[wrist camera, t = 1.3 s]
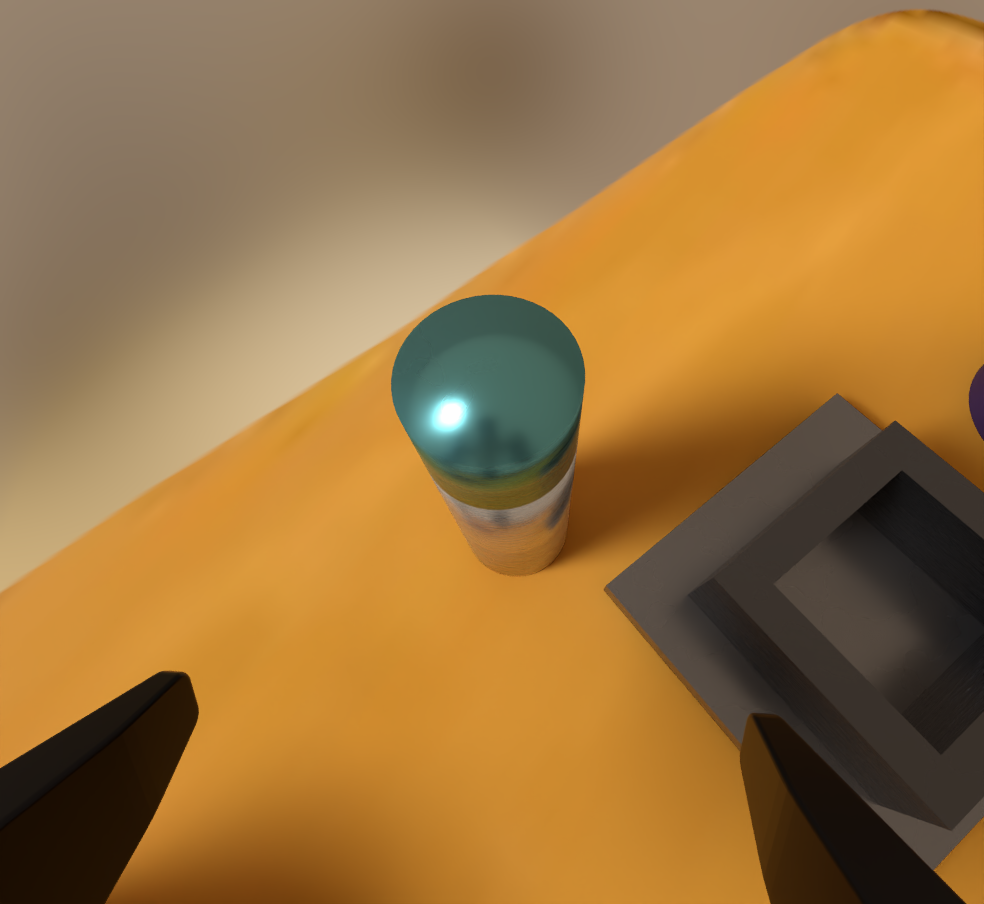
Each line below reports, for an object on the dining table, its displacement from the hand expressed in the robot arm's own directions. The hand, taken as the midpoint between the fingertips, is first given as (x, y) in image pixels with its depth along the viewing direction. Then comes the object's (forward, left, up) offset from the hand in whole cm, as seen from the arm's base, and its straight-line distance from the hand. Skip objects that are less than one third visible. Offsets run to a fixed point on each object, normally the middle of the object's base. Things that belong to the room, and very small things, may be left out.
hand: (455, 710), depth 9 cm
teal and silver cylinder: (+5, -4, -12) cm, 14 cm away
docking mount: (-5, -11, -12) cm, 17 cm away
